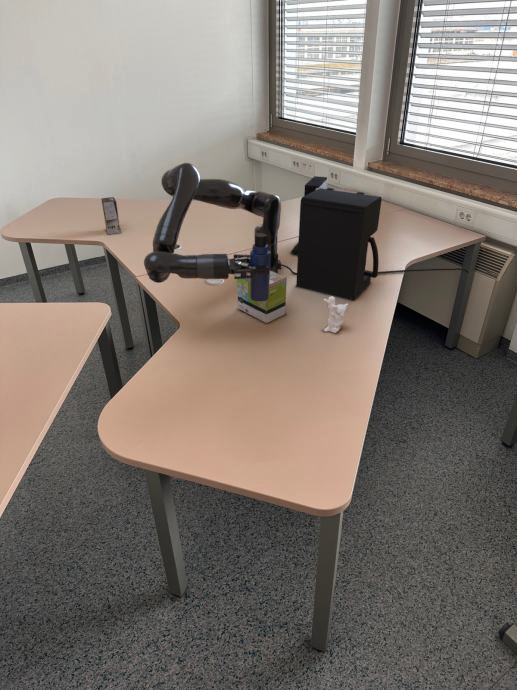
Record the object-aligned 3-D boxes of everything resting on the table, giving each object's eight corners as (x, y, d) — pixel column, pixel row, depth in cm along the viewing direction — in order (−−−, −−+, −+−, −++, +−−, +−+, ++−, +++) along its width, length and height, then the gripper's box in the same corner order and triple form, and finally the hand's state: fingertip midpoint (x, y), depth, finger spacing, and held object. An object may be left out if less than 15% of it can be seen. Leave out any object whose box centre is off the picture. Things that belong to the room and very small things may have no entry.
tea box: (236, 309, 174) (235, 271, 167) (256, 301, 180) (256, 263, 173) (266, 324, 165) (267, 284, 157) (286, 314, 171) (287, 275, 163)
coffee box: (121, 233, 246) (116, 201, 237) (108, 234, 243) (102, 202, 235) (118, 227, 253) (114, 196, 244) (105, 229, 251) (100, 197, 242)
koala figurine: (321, 334, 160) (323, 301, 153) (320, 324, 165) (323, 292, 159) (346, 335, 159) (350, 302, 153) (345, 325, 165) (349, 293, 158)
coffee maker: (380, 284, 193) (394, 195, 175) (363, 303, 179) (376, 208, 161) (316, 270, 205) (322, 185, 187) (295, 286, 191) (300, 197, 173)
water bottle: (263, 291, 156) (264, 230, 145) (272, 299, 151) (274, 236, 141) (246, 295, 153) (246, 233, 143) (255, 303, 149) (256, 239, 138)
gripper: (211, 263, 138) (270, 263, 139) (212, 246, 150) (266, 245, 151) (212, 288, 142) (269, 287, 143) (213, 268, 154) (266, 268, 155)
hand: (267, 265), depth 147 cm, fingers closed on water bottle, 6 cm apart
